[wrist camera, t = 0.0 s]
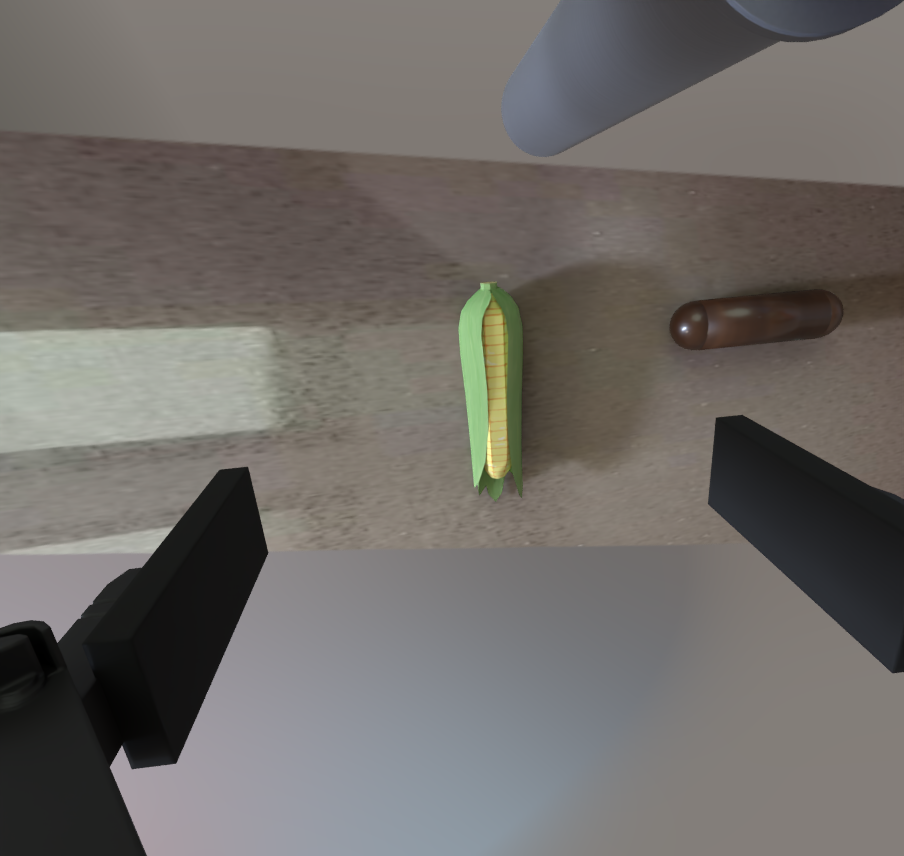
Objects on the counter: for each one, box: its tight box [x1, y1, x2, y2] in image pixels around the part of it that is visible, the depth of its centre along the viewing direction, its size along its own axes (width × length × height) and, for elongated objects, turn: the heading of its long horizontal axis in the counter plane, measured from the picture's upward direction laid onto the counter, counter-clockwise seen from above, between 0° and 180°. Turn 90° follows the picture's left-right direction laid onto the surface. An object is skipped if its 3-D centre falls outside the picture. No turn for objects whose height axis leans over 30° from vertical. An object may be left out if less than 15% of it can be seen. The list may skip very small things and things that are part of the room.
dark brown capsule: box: [670, 289, 843, 350], centre depth 45 cm, size 14×4×4 cm, turn 95°
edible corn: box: [459, 282, 523, 502], centre depth 45 cm, size 5×20×5 cm, turn 4°
